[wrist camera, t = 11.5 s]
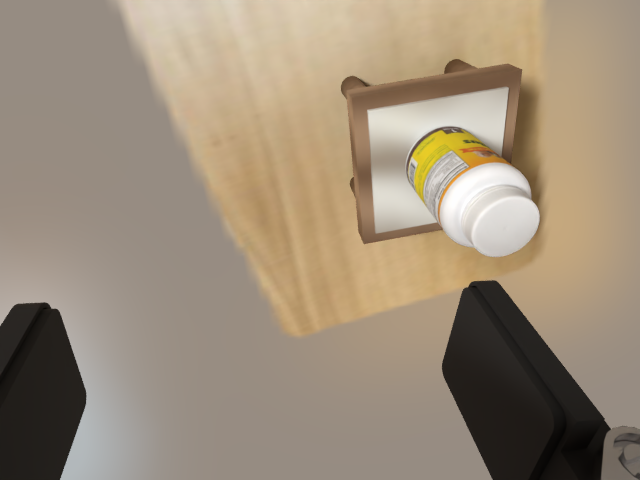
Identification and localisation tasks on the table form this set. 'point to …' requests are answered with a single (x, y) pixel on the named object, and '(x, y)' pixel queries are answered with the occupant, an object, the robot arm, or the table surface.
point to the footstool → (411, 123)
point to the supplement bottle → (472, 191)
